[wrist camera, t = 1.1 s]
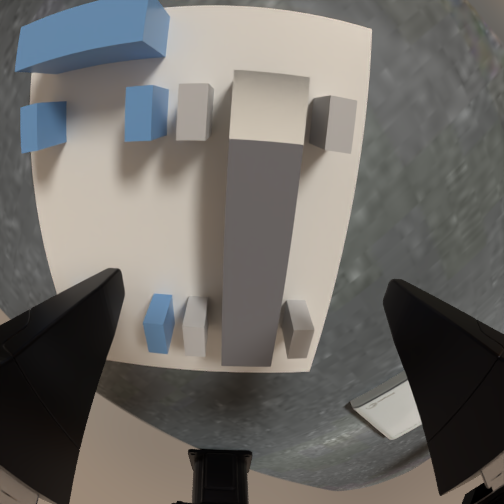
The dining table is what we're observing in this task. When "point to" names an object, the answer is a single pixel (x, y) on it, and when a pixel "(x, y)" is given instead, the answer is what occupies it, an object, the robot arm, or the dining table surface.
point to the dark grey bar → (260, 209)
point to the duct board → (184, 163)
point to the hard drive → (389, 407)
